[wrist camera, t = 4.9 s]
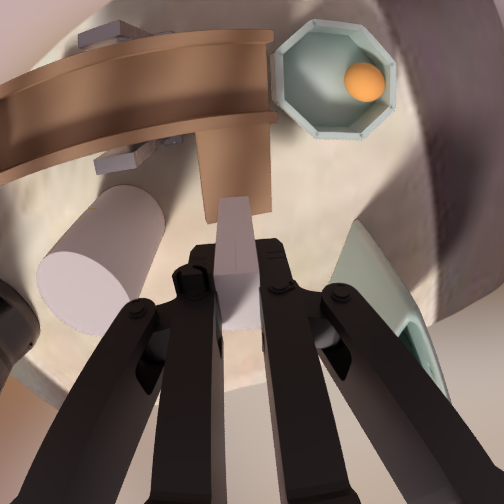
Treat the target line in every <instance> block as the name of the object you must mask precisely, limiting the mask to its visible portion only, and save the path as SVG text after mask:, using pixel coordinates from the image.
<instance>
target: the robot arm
mask: <svg viewBox="0 0 504 504" xmlns="http://www.w3.org/2000/svg"><path fill="white" fill-rule="evenodd" d="M172 278H173V282H174V286H175V290H176V294H177V297H176V298H175V299H173V300H172V301H169V302H167V303H163V304H160V305H156V306H155V303H154V302H153V301H152V300H150V299H147V298H138V299H134V300H131V301H130V302H128V303H126V304H125V305H124V306H123V307H122V309H121V310H120V312H119V313H118V315H117V316H116V318H115V319H114V321H113V322H112V324H111V325H110V327H109V328H108V330H107V331H106V333H105V334H104V336H103V338H102V339H101V341H100V342H99V344H98V345H97V347H96V349H95V350H94V352H93V353H92V355H91V357H90V358H89V360H88V361H87V363H86V365H85V366H84V368H83V370H82V371H81V373H80V375H79V376H78V378H77V380H76V382H75V383H74V385H73V387H72V388H71V390H70V392H69V394H68V395H67V397H66V399H65V401H64V403H63V404H62V406H61V408H60V410H59V412H58V413H57V415H56V417H55V419H54V421H53V423H52V425H51V427H50V428H49V430H48V433H47V434H46V436H45V438H44V440H43V442H42V444H41V447H40V448H39V450H38V452H37V454H36V457H35V459H34V461H33V463H32V465H31V467H30V469H29V471H28V474H27V476H26V478H25V480H24V483H23V485H22V487H21V490H20V492H19V494H18V496H17V497H16V498H15V499H14V500H13V501H12V502H11V503H10V504H115V502H116V500H117V497H118V495H119V492H120V489H121V487H122V484H123V481H124V479H125V476H126V474H127V471H128V469H129V466H130V463H131V461H132V458H133V456H134V453H135V451H136V448H137V446H138V443H139V441H140V438H141V436H142V433H143V431H144V429H145V426H146V424H147V421H148V419H149V416H150V414H151V411H152V409H153V407H154V404H155V402H156V400H157V397H158V395H159V392H160V390H161V393H160V400H159V408H158V416H157V425H156V434H155V444H154V455H153V467H152V479H151V492H150V496H149V499H148V500H147V501H146V502H145V503H144V504H227V489H226V466H225V465H226V464H225V433H224V432H225V431H224V360H223V337H222V330H223V331H237V330H251V329H262V351H263V352H264V361H265V370H266V378H267V387H268V396H269V404H270V413H271V422H272V431H273V440H274V448H275V457H276V466H277V474H278V483H279V492H280V500H281V504H361V502H360V499H359V497H358V495H357V493H356V492H355V491H354V490H353V489H352V488H351V486H350V484H349V480H348V476H347V471H346V467H345V462H344V458H343V453H342V449H341V445H340V440H339V437H338V432H337V428H336V423H335V420H334V415H333V411H332V408H331V403H330V399H329V396H328V392H327V387H326V383H325V380H324V376H323V372H322V368H321V364H320V360H319V357H320V358H321V360H322V362H323V363H324V365H325V367H326V368H327V370H328V372H329V373H330V375H331V377H332V378H333V380H334V382H335V383H336V385H337V387H338V388H339V390H340V392H341V393H342V395H343V397H344V398H345V400H346V402H347V403H348V405H349V407H350V408H351V410H352V412H353V413H354V415H355V416H356V418H357V420H358V422H359V423H360V425H361V427H362V428H363V430H364V432H365V433H366V435H367V437H368V438H369V440H370V442H371V443H372V445H373V447H374V449H375V450H376V452H377V454H378V455H379V457H380V458H381V460H382V462H383V463H384V465H385V467H386V469H387V470H388V472H389V474H390V475H391V477H392V479H393V480H394V482H395V484H396V485H397V487H398V489H399V491H400V492H401V494H402V495H403V497H404V499H405V501H406V502H407V504H504V471H502V470H501V469H499V468H498V467H496V466H495V465H494V464H493V462H492V461H491V459H490V458H489V456H488V455H487V453H486V452H485V450H484V449H483V447H482V446H481V444H480V443H479V442H478V440H477V439H476V437H475V436H474V435H473V433H472V432H471V430H470V429H469V427H468V426H467V425H466V423H465V422H464V421H463V419H462V418H461V417H460V415H459V414H458V412H457V411H456V410H455V409H454V407H453V406H452V404H451V403H450V402H449V400H448V399H447V398H446V397H445V395H444V394H443V393H442V391H441V390H440V389H439V387H438V386H437V385H436V384H435V382H434V381H433V380H432V378H431V377H430V376H429V375H428V373H427V372H426V371H425V370H424V368H423V367H422V366H421V365H420V363H419V362H418V361H417V360H416V358H415V357H414V356H413V355H412V354H411V352H410V351H409V350H408V349H407V347H406V346H405V345H404V344H403V343H402V341H401V340H400V339H399V338H398V337H397V335H396V334H395V333H394V332H393V331H392V330H391V328H390V327H389V326H388V325H387V324H386V322H385V321H384V320H383V319H382V318H381V317H380V315H379V314H378V313H377V312H376V311H375V310H374V309H373V307H372V306H371V305H370V304H369V303H368V302H367V301H366V299H365V298H364V297H363V296H362V295H361V294H360V293H359V292H358V290H357V289H355V288H354V287H353V286H351V285H348V284H346V283H331V284H329V285H327V286H325V288H324V289H323V290H322V292H315V291H309V290H305V289H303V288H301V287H299V285H298V284H297V282H296V281H295V280H293V278H292V275H291V271H290V268H289V264H288V261H287V258H286V254H285V250H284V247H283V244H282V243H281V242H280V241H279V240H278V239H277V238H271V239H257V240H255V238H254V231H253V224H252V217H251V210H250V203H249V196H242V197H229V198H220V200H219V211H218V222H217V234H216V243H215V244H203V245H196V246H195V247H194V248H193V249H192V251H191V252H190V257H189V262H188V264H185V265H183V266H181V267H179V268H178V269H176V270H175V271H174V273H173V275H172ZM39 335H40V327H39V324H38V321H37V319H36V317H35V315H34V313H33V312H32V310H31V309H30V307H29V306H28V304H27V303H26V302H25V301H24V300H23V298H22V297H21V296H20V295H19V294H18V293H17V292H16V291H15V290H14V289H12V288H11V287H10V286H9V285H8V284H6V283H5V282H3V281H2V280H0V394H1V392H2V389H3V387H4V385H5V382H6V380H7V378H8V376H9V373H10V371H11V369H12V367H13V365H14V364H15V363H16V362H17V361H18V360H20V359H21V358H22V357H23V356H24V355H25V354H26V353H27V352H28V351H29V350H31V349H32V348H33V347H34V345H35V343H36V341H37V339H38V338H39ZM318 355H319V357H318Z"/></svg>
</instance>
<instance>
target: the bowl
mask: <svg viewBox="0 0 504 504" xmlns="http://www.w3.org/2000/svg"><path fill="white" fill-rule="evenodd" d="M356 63H369V64H371V65H373V66H375V67H376V68H378V69H379V70H380V72H381V73H382V75H383V77H384V79H385V89H384V92H383V94H382V95H381V96H380V97H379V98H378V99H376V100H374V101H371V102H363V101H359V100H357V99H355V98H354V97H352V96H351V95H350V94H349V93H348V91H347V90H346V88H345V85H344V75H345V73H346V71H347V69H348V68H349V67H350V66H352V65H353V64H356ZM395 63H396V62H395V61H394V60H393V58H392V57H391V56H390V55H389V54H388V52H387V51H386V50H385V49H384V48H383V46H382V45H381V44H380V43H379V42H378V41H377V40H376V38H375V37H374V36H373V35H372V34H371V33H370V32H369V31H368V30H367V29H366V28H365V27H364V26H362V25H360V24H354V23H347V22H340V21H331V20H322V19H311V20H310V21H308V22H307V23H306V24H305V25H304V26H302V27H301V28H300V29H299V30H298V31H296V32H295V33H294V34H293V35H292V36H291V37H290V38H288V39H287V40H286V41H285V42H284V43H283V44H282V45H281V46H280V47H279V48H277V49H276V50H275V51H274V52H273V53H272V54H271V56H270V73H271V97H272V100H273V102H274V103H275V104H276V105H277V106H279V107H280V108H281V109H282V110H283V111H284V112H285V113H286V114H287V115H288V116H289V117H291V118H292V119H293V120H294V121H295V122H296V123H297V124H298V125H299V126H300V127H301V128H302V129H303V130H304V131H305V132H307V133H308V134H309V135H310V136H312V137H313V138H315V139H336V140H362V139H363V140H364V139H365V138H366V137H367V136H368V135H369V134H370V133H371V132H373V131H374V130H375V129H376V128H377V127H378V126H379V125H380V124H381V123H382V122H383V121H384V120H385V119H386V118H387V117H388V116H389V115H391V114H392V113H393V112H394V111H395V110H394V109H396V64H395Z"/></svg>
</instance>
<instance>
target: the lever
mask: <svg viewBox="0 0 504 504" xmlns="http://www.w3.org/2000/svg"><path fill="white" fill-rule="evenodd" d="M273 41H274V31H273V30H256V29H229V30H206V31H193V32H183V33H174V34H166V35H159V36H152V37H146V38H141V39H135V40H130V41H126V42H121V43H117V44H112V45H108V46H104V47H100V48H96V49H93V50H89V51H86V52H82V53H79V54H76V55H73V56H70V57H67V58H64V59H61V60H58V61H55V62H52V63H50V64H47V65H45V66H42V67H39V68H37V69H35V70H32V71H30V72H27V73H25V74H23V75H21V76H19V77H16V78H14V79H12V80H10V81H8V82H6V83H4V84H2V85H0V186H1V185H4V184H6V183H8V182H11V181H13V180H16V179H19V178H21V177H24V176H26V175H29V174H32V173H35V172H37V171H40V170H43V169H46V168H49V167H52V166H55V165H58V164H61V163H64V162H67V161H71V160H74V159H77V158H81V157H84V156H88V155H91V154H95V153H99V152H102V151H106V150H110V149H114V148H118V147H122V146H126V145H131V144H135V143H140V142H145V141H149V140H154V139H159V138H165V137H170V136H176V135H181V134H187V133H194V132H195V136H196V145H197V154H198V163H199V172H200V180H201V188H202V196H203V204H204V211H205V219H206V222H207V224H212V223H216V222H218V211H219V200H220V198H229V197H242V196H249V203H250V210H251V216H252V215H257V214H262V213H268V212H272V198H271V160H270V129H269V124H274V123H277V111H272V110H269V102H268V79H267V58H266V44H267V43H270V42H273Z"/></svg>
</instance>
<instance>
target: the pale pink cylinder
mask: <svg viewBox="0 0 504 504" xmlns="http://www.w3.org/2000/svg"><path fill="white" fill-rule="evenodd" d="M164 230H165V219H164V215H163V212H162V210H161V207H160V206H159V204H158V203H157V201H156V200H155V199H154V198H153V197H152V196H151V195H150V194H149V193H147V192H146V191H144V190H142V189H140V188H138V187H135V186H131V185H118V186H114V187H111V188H109V189H108V190H106V191H105V192H104V193H102V194H101V195H100V196H99V197H98V198H97V199H96V200H95V201H94V202H93V203H92V204H91V206H90V207H89V208H88V209H87V210H86V211H85V212H84V213H83V214H82V215H81V216H80V217H79V218H78V219H77V220H76V221H75V222H74V224H73V225H72V226H71V227H70V228H69V229H68V230H67V231H66V232H65V234H64V235H63V236H62V237H61V238H60V239H59V240H58V242H57V243H56V244H55V245H54V246H53V248H52V249H51V250H50V251H49V252H48V254H47V255H46V256H45V257H44V258H43V260H42V261H41V262H40V264H39V266H38V269H37V275H36V279H37V286H38V289H39V292H40V295H41V297H42V299H43V300H44V302H45V304H46V305H47V307H48V308H49V309H50V310H51V311H52V313H53V314H54V315H55V316H56V317H57V318H59V319H60V320H61V321H62V322H64V323H65V324H66V325H68V326H70V327H71V328H73V329H75V330H77V331H79V332H82V333H84V334H88V335H92V336H98V337H103V336H104V334H105V333H106V331H107V330H108V328H109V327H110V325H111V324H112V322H113V321H114V319H115V318H116V316H117V315H118V313H119V312H120V310H121V309H122V307H123V306H124V305H125V304H126V303H128V302H130V301H131V300H134V299H138V298H139V295H140V293H141V290H142V287H143V285H144V282H145V279H146V277H147V274H148V272H149V269H150V267H151V264H152V262H153V259H154V257H155V254H156V252H157V249H158V247H159V244H160V242H161V240H162V237H163V235H164Z"/></svg>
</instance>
